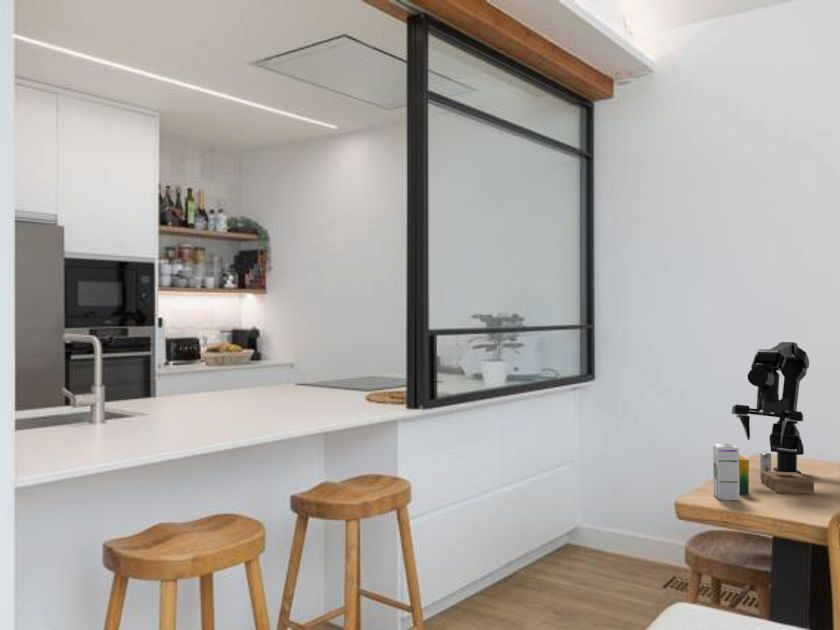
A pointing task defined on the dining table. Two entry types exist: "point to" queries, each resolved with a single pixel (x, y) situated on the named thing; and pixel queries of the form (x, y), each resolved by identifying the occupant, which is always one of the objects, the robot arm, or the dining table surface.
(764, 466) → the peg
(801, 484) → the hole block
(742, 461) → the crayon box
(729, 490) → the syrup box
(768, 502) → the dining table surface
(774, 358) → the robot arm
